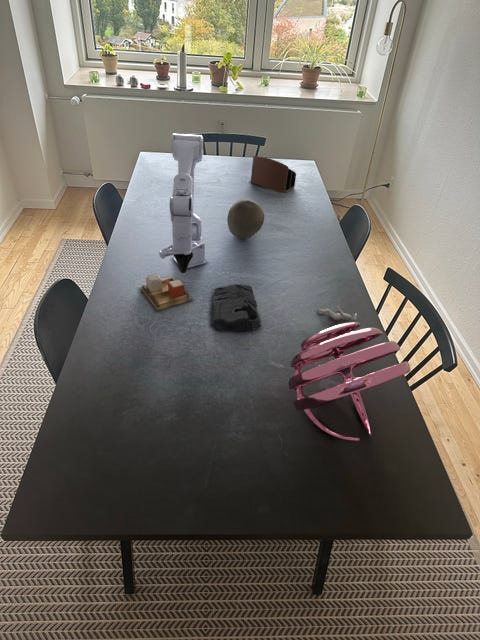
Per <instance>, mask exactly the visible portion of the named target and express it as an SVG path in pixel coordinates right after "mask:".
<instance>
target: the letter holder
mask: <svg viewBox="0 0 480 640" xmlns="http://www.w3.org/2000/svg"><path fill="white" fill-rule="evenodd" d="M296 178H297V173H296V172H295V171H294V170H292V169H291V168H289V165H286V164H284V163H282V162H280V161H278V160H275V159H272V158H268V157H265V156H259V155H254V156H253V157H252V165H251V174H250V183H251V184H254V185H257V186H261V187H263V188H266V189H269V190H272V191H274V192H277V193H280V194H283V195H285V194H287V193H288V192H290V191H291V190H293V189H294V188H295V186H296Z"/></svg>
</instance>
